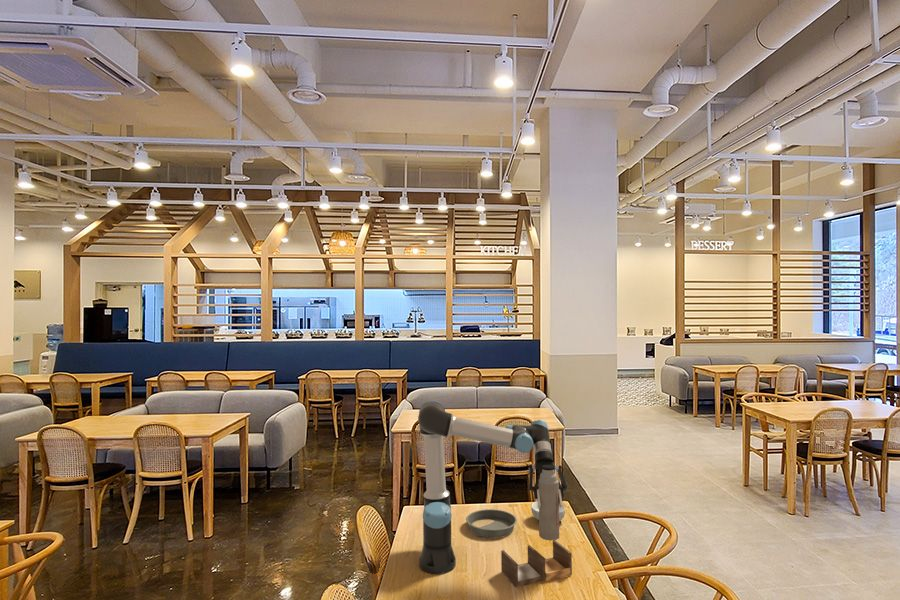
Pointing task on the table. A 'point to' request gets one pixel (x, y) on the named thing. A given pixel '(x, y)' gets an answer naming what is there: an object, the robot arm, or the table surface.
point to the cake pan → (497, 528)
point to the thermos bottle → (549, 504)
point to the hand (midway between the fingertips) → (550, 506)
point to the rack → (537, 566)
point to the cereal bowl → (536, 511)
